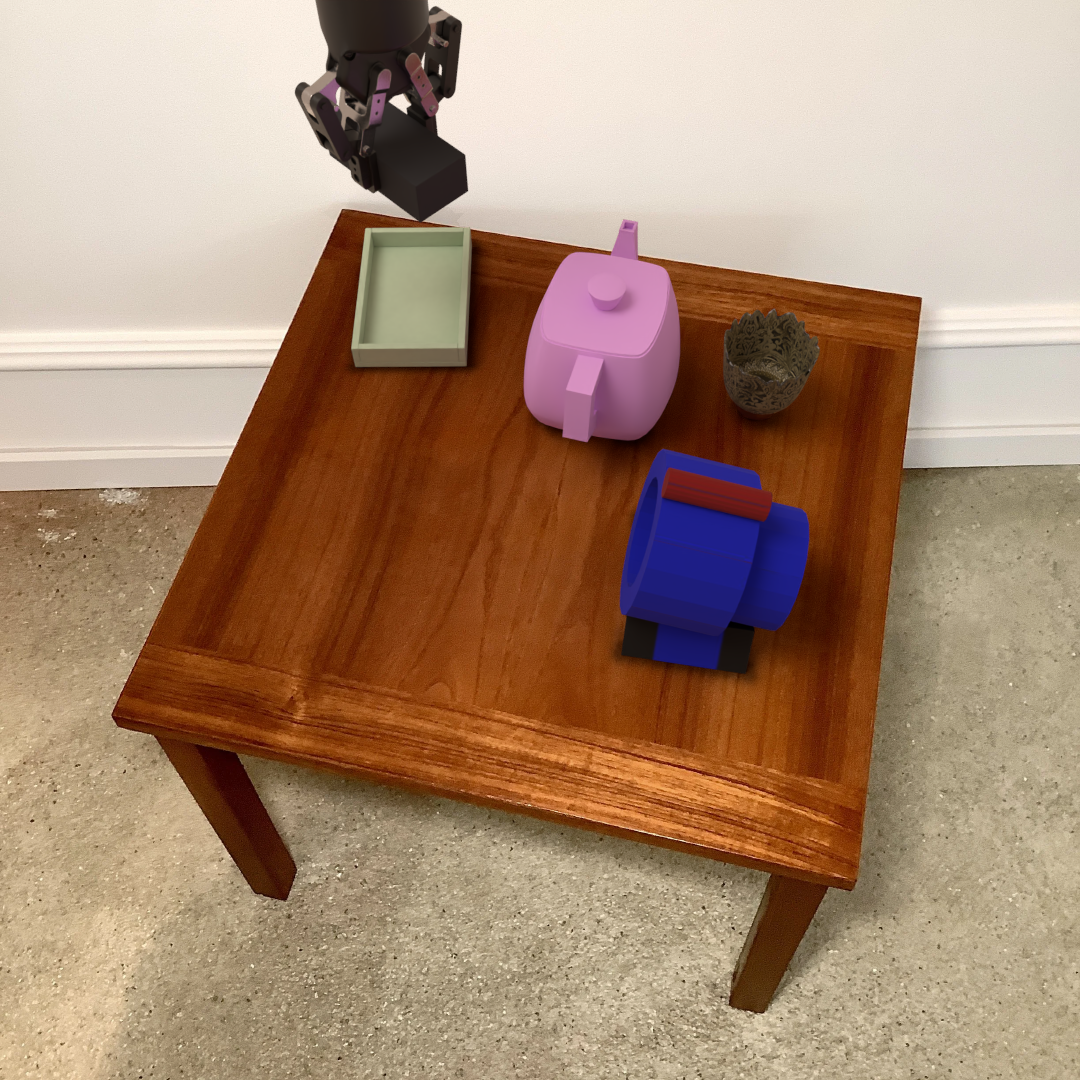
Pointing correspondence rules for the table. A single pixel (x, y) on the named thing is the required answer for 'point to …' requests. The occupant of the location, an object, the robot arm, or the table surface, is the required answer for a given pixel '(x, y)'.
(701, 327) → the table surface
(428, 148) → the black rectangular block
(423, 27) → the robot arm
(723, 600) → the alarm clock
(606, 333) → the teapot
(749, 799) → the table surface
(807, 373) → the cup
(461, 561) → the table surface
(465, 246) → the pale green tray
